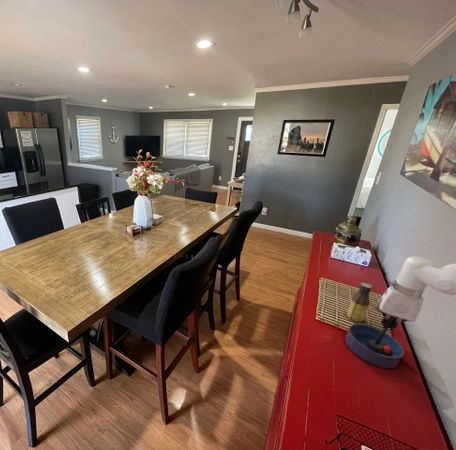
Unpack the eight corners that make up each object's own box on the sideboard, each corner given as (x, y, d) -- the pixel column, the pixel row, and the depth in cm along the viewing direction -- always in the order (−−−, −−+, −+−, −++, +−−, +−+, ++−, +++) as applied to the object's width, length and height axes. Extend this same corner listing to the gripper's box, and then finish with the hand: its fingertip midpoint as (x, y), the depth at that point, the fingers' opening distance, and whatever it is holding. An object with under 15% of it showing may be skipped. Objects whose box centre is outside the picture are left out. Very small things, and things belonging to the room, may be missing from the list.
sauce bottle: (364, 322, 115) (380, 288, 107) (356, 325, 113) (371, 291, 105) (350, 313, 120) (364, 280, 113) (342, 316, 118) (355, 282, 111)
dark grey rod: (384, 351, 98) (404, 320, 91) (375, 353, 97) (395, 321, 90) (372, 342, 102) (391, 311, 95) (364, 343, 101) (382, 312, 94)
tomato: (379, 351, 99) (388, 356, 97) (380, 347, 98) (389, 353, 95) (383, 346, 100) (392, 352, 98) (384, 342, 99) (393, 348, 96)
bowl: (408, 365, 94) (415, 354, 92) (374, 372, 91) (380, 361, 88) (365, 331, 109) (370, 321, 107) (335, 336, 106) (339, 326, 104)
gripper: (381, 286, 89) (363, 324, 96) (441, 303, 81) (416, 342, 88) (378, 276, 94) (361, 313, 101) (433, 291, 87) (410, 329, 94)
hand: (387, 326), depth 95 cm, fingers closed on dark grey rod, 1 cm apart
